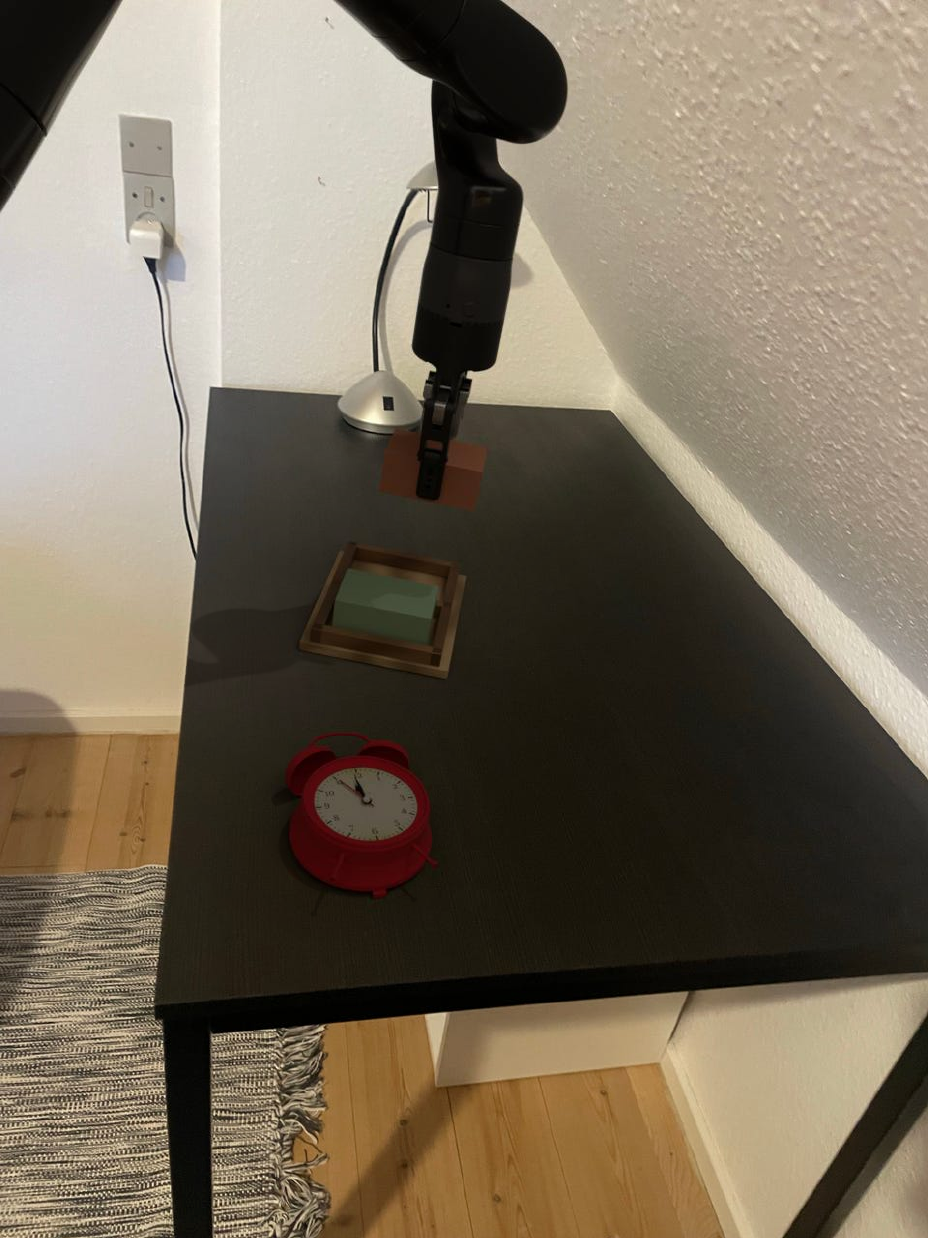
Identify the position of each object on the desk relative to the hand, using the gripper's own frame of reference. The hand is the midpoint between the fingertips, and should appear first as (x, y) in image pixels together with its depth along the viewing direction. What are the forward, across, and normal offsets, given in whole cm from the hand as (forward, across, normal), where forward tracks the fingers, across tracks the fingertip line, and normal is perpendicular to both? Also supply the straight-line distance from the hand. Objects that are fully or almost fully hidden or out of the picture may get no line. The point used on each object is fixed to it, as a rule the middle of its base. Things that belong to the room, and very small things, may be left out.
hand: (431, 482), depth 89 cm
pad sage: (+13, +6, -2) cm, 15 cm away
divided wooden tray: (+14, +2, -2) cm, 15 cm away
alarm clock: (+14, +31, 0) cm, 34 cm away
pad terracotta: (+1, 0, 0) cm, 1 cm away
